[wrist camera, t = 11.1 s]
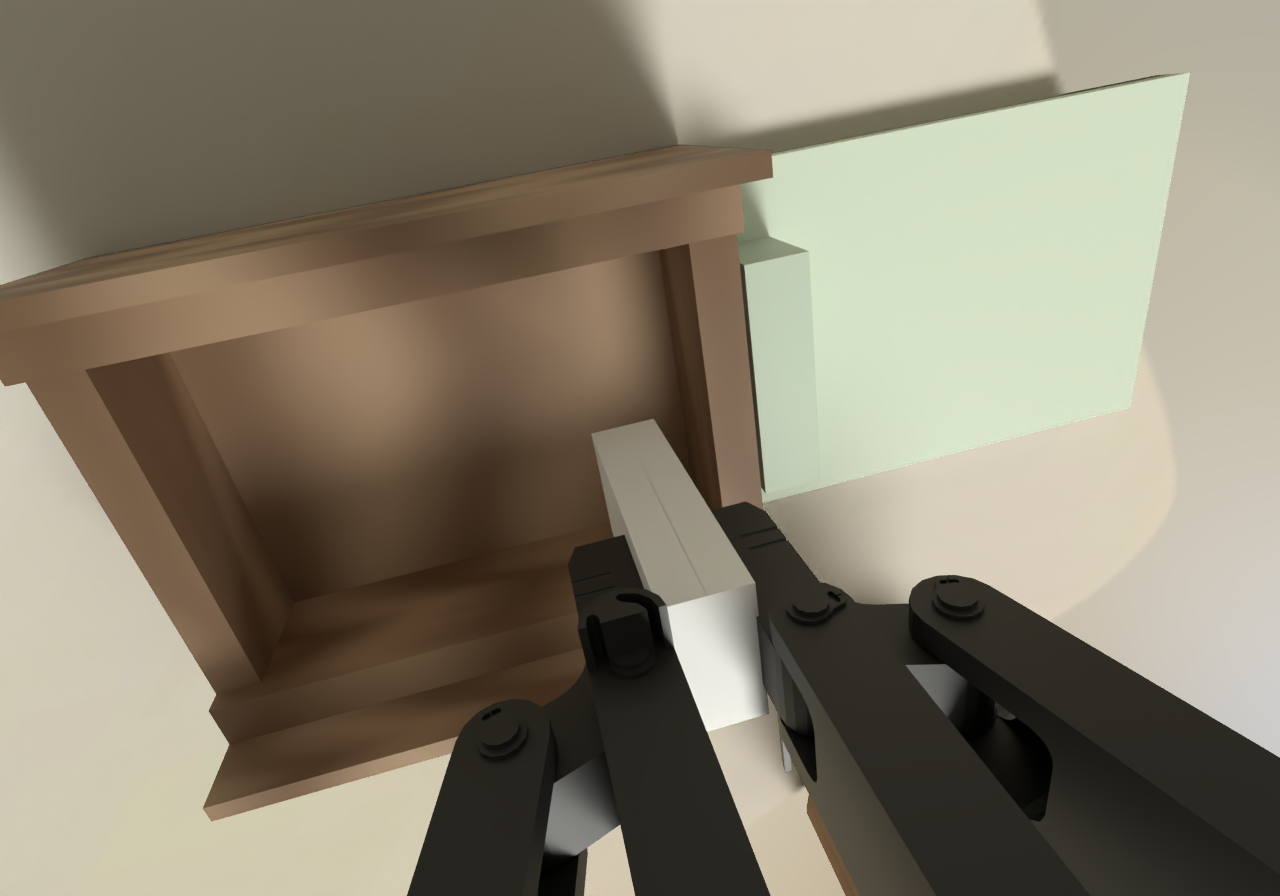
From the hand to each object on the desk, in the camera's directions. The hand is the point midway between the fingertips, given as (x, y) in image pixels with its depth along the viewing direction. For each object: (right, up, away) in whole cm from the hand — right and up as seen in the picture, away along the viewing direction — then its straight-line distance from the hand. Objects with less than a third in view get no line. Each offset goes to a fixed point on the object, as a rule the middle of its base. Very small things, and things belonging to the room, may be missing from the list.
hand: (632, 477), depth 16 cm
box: (-5, +2, +5) cm, 8 cm away
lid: (+10, +6, +7) cm, 14 cm away
